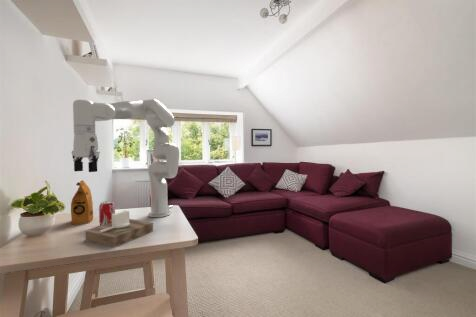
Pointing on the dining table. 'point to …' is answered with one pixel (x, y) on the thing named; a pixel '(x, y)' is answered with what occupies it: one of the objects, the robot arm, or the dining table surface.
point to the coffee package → (82, 205)
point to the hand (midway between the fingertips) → (85, 171)
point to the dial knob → (119, 220)
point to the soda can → (106, 212)
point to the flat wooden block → (119, 233)
